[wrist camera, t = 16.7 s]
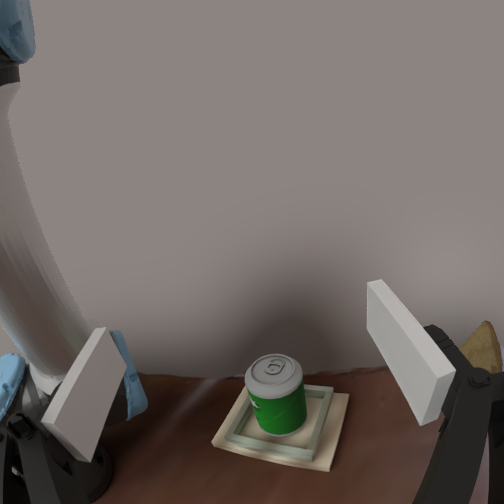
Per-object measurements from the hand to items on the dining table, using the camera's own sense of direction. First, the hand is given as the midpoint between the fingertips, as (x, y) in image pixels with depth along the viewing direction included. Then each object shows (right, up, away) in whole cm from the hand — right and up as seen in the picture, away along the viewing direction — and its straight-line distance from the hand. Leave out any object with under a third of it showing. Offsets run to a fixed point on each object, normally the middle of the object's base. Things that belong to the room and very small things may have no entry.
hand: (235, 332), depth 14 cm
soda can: (+6, -22, +26) cm, 35 cm away
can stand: (+6, -23, +27) cm, 36 cm away
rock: (+39, -18, +23) cm, 49 cm away
